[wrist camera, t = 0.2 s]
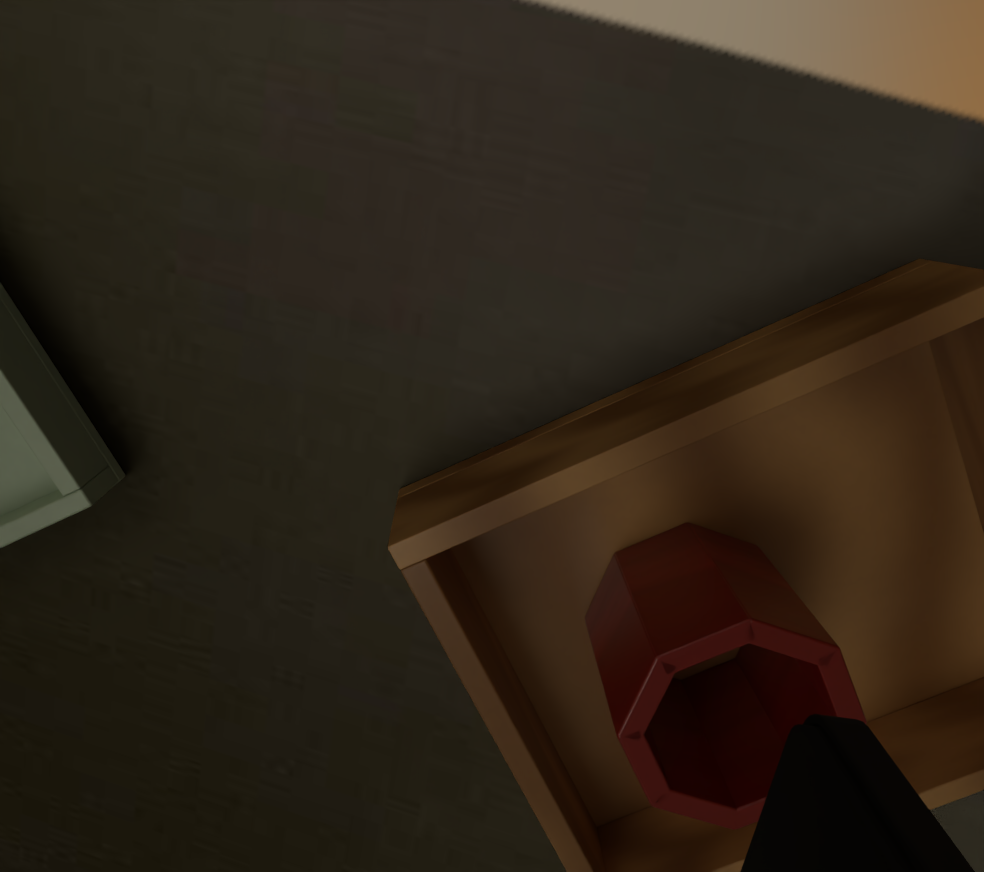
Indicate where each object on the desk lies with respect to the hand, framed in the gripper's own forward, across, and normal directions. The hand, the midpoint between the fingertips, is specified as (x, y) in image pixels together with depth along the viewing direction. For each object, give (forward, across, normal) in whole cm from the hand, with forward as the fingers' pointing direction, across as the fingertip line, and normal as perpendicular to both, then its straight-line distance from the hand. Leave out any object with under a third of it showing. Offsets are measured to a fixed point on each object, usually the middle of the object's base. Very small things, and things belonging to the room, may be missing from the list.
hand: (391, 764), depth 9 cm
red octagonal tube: (+16, -9, +6) cm, 19 cm away
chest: (+16, -11, +5) cm, 20 cm away
